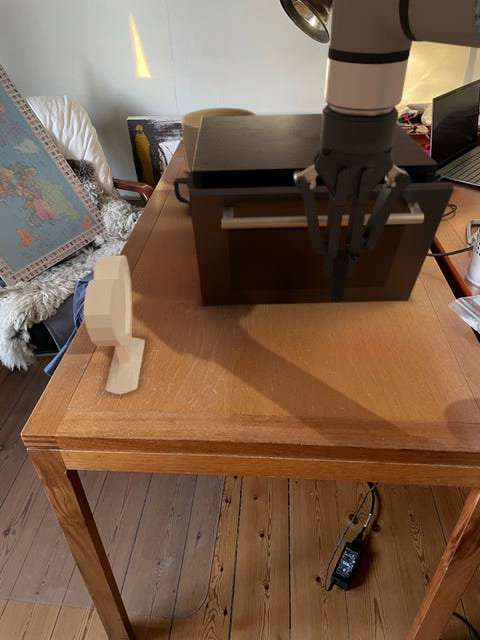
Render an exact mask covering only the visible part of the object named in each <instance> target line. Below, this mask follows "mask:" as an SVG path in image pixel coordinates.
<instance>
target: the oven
mask: <svg viewBox="0 0 480 640" xmlns="http://www.w3.org/2000/svg"><path fill="white" fill-rule="evenodd" d="M322 114H323V113H302V114H301V113H299V114H298V113H297V114H295V113H294V114H293V113H292V114H265V115H264V114H260V115H257V116H222V117H202V119H201V124H200V130H199V135H198V141H197V146H196V151H195V157H194V162H193V168H192V179H193V189H225V188H262V187H296V185H295V182H294V178H293V174H294V172H295V171H298V170H300V171H304V170H305V169H307V168H308V167H310V166H312V165H313V161H314V158H315V156H316V154H317V153H318V150H319V146H320V136H321V125H322ZM392 156H393V159H394V165H395V166H396V167H398V168H403V169H404V170H405V171H406V173H407V174H408V175H409V176H410V178H411V183H435V179H436V175H437V171H438V166H439V164H438V163H437V162H436V161H435V160H434V159H433V158H432V157H431V156H430V154H428V153H427V151H425V149H423V147H422V146H420V144H418V143H417V141H416V140H415V139H414V138H413V137H411V135H409V134H408V133H407V132H406V130H405V129H404V128H403V127H401V126H400V125H399V123H397V125H396V130H395V136H394V141H393V146H392ZM385 177H386V176H385ZM385 177H384V178H383V179H382V180H381V181H380V182H379V184H385V182H384V179H385ZM316 186H325V184H324V183H323V181H322V180H321V178H320V177H319V175H318V176H317V177H316Z"/></svg>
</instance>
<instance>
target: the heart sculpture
mask: <svg viewBox="0 0 480 640" xmlns="http://www.w3.org/2000/svg"><path fill="white" fill-rule="evenodd" d="M83 319H84V323H85V328H86V331H87V333H88V336H89V339H90V341H91V342H92V343H93V344H94V345H95V346H96V347H114V348H115V349H114V351H113V356H112V360H111V364H110V368H109V371H108V372H109V373H108V376H107V381H106V385H105V389H104V390H105V391H106V392H108V393H110V394H111V393H112V394H114V395H123V394H127V393H130V392H132V391H135V390H137V389H138V385H139V380H140V372H141V367H142V361H143V357H144V351H145V344H146V340H145V339H142V338H139V337H133V336H132V335H133V333H132V332H133V292H132V280H131V272H130V266H129V263H128V258H127V256H126V255H124V254H123V255H121V254H120V255H118V254H117V255H101V256H100V257H98V259H97V260H96V262H95V264H94V269H93V279H90V280H89V281H88V284H87V286H86V291H85V295H84V301H83Z"/></svg>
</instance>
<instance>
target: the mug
mask: <svg viewBox="0 0 480 640" xmlns="http://www.w3.org/2000/svg"><path fill="white" fill-rule="evenodd" d="M179 184H180V185H181V184H182V185H186V187H187V189H188V191H189V190H190V189H193V179H192V169H191V170H190V172H189V174H188V175H187V176H186V177H177V178H175V179H174V180H173V189H174V195H175V198H176V200H177V201H178V202H179V203H182V204H185V205H188V208H187V214H188V215H189V216H190V217H192V216H191V208H190V200H188V199H186V198H185V197H183V196H182V195H181V193H180V185H179Z"/></svg>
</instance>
